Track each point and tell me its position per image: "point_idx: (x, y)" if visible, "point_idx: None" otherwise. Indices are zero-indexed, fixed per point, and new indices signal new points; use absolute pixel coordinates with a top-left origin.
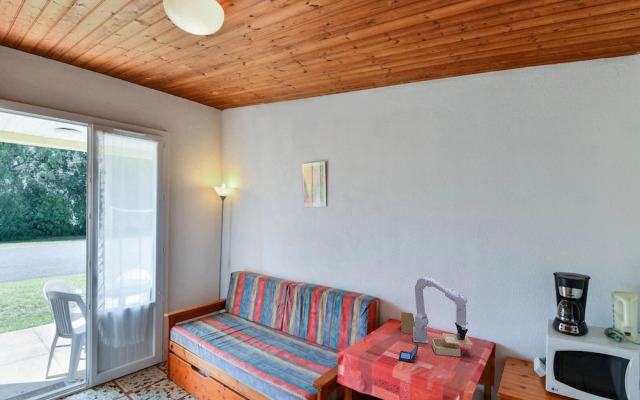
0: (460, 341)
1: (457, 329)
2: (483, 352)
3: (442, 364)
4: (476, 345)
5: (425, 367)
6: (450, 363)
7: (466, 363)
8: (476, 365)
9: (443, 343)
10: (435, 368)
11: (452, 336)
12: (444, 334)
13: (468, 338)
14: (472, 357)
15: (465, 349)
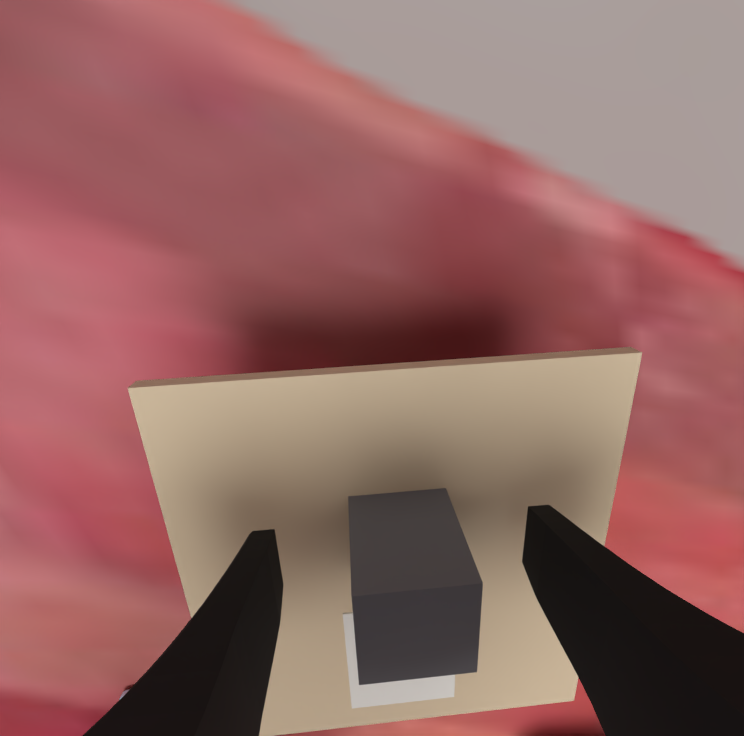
0: (515, 534)
1: (259, 726)
2: (275, 73)
3: (676, 579)
4: (11, 128)
5: None
6: (656, 522)
7: (652, 384)
8: (698, 284)
9: None
10: (741, 622)
11: (311, 629)
12: (264, 718)
13: (315, 376)
14: (491, 289)
15: (260, 335)
